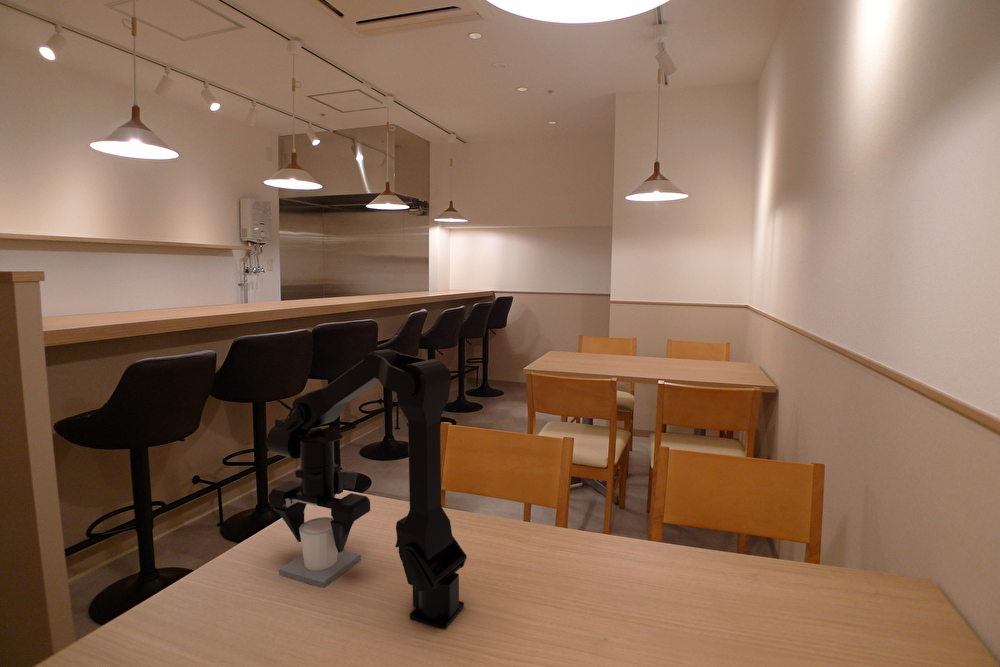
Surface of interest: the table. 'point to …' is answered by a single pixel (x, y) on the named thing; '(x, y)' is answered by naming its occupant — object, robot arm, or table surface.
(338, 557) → the slate plate
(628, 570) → the table surface
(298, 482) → the robot arm
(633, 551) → the table surface
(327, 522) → the white cup
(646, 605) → the table surface
